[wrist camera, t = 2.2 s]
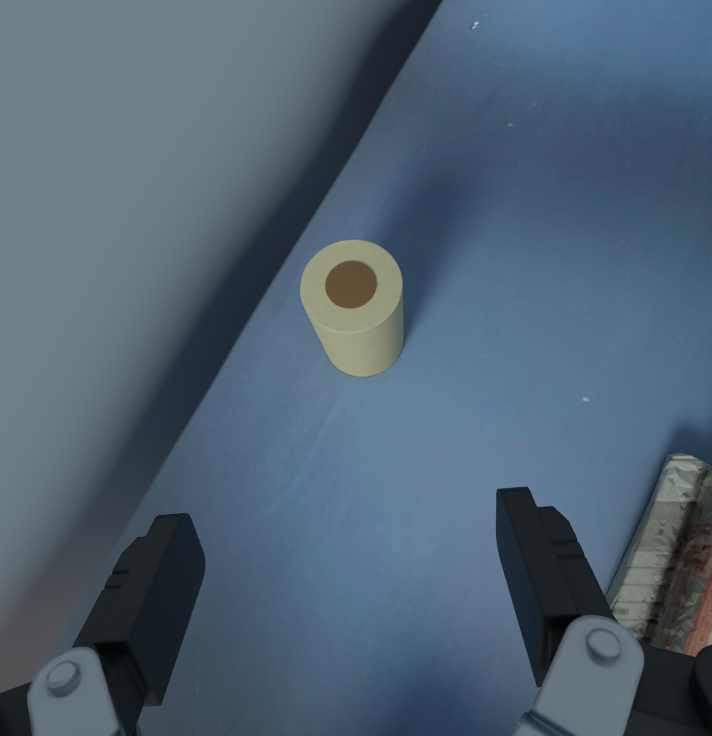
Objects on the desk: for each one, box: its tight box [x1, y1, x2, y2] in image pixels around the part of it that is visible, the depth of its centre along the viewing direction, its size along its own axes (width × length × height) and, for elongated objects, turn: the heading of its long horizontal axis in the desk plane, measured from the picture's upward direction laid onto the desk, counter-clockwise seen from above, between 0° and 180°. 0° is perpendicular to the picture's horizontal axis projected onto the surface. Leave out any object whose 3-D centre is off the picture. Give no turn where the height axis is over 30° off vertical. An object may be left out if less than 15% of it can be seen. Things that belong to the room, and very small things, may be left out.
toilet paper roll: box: [300, 240, 403, 377], centre depth 30 cm, size 5×5×8 cm
